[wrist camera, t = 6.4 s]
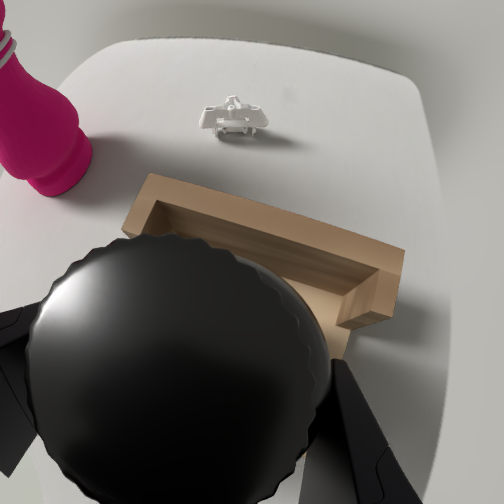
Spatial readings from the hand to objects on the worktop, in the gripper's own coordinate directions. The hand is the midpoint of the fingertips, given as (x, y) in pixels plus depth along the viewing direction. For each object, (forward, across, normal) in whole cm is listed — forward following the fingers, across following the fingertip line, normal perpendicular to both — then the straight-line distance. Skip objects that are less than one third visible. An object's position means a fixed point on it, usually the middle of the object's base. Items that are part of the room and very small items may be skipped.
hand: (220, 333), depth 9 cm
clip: (+17, +5, -4) cm, 18 cm away
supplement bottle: (+4, 0, +6) cm, 7 cm away
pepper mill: (+12, +19, +1) cm, 23 cm away
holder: (+6, 0, +7) cm, 9 cm away
